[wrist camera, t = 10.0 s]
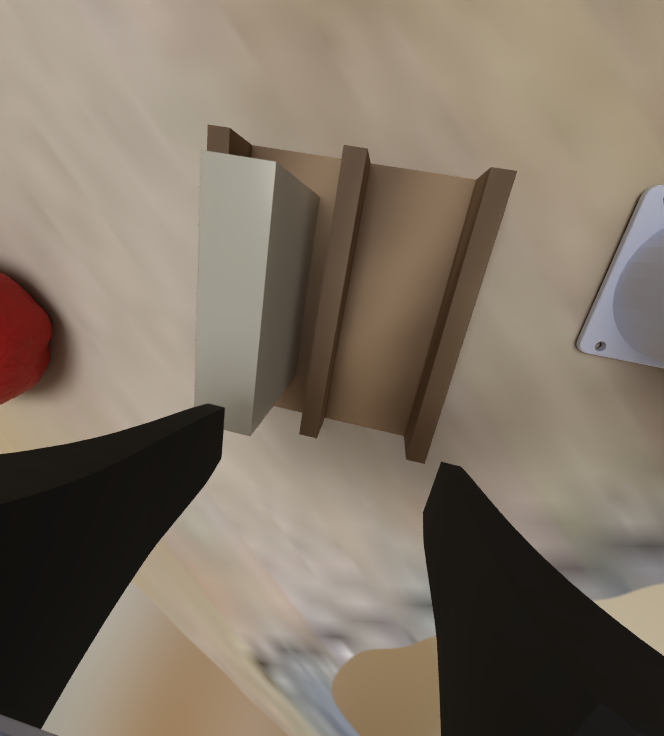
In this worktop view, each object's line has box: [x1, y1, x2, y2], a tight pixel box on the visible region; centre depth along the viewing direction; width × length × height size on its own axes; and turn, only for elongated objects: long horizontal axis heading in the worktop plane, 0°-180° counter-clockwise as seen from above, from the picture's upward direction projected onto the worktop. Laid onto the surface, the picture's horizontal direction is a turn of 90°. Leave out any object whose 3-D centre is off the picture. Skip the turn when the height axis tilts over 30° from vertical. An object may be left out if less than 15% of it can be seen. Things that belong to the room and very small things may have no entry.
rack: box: [207, 125, 517, 464], centre depth 18 cm, size 13×14×4 cm
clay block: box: [194, 150, 320, 436], centre depth 16 cm, size 2×10×7 cm, turn 170°
